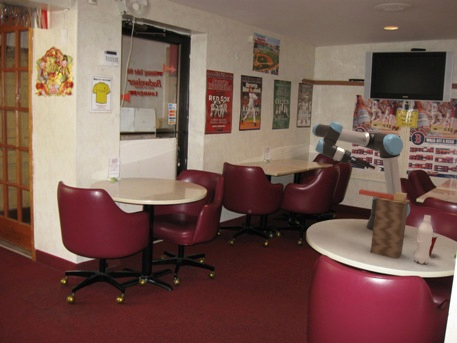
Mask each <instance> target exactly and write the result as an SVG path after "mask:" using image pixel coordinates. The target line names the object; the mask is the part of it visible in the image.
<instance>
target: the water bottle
mask: <svg viewBox="0 0 457 343" xmlns="http://www.w3.org/2000/svg"><path fill="white" fill-rule="evenodd" d="M431 219H432V216H431V215H429V214H424V217H423V221H422V223H421V224H420V226H419V227H418V229H417V232H418V235H417V237H416V240H415V241H416V251H415V253H414V260H415V262H416V263H418V264H420V265H423V264H424V265H427V264H428V263H429V261H430V257H431V256H429V250H430V246H431V244H432V235H433V234H434V230H433V227H432V224H431V221H432V220H431Z"/></svg>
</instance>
